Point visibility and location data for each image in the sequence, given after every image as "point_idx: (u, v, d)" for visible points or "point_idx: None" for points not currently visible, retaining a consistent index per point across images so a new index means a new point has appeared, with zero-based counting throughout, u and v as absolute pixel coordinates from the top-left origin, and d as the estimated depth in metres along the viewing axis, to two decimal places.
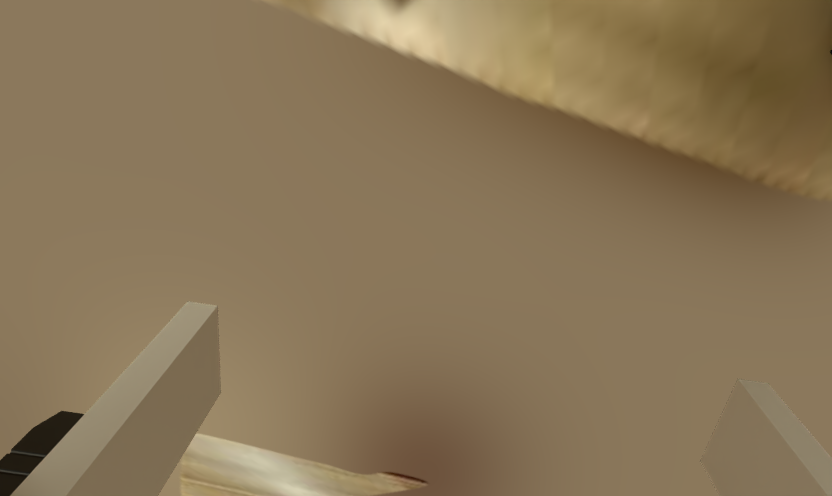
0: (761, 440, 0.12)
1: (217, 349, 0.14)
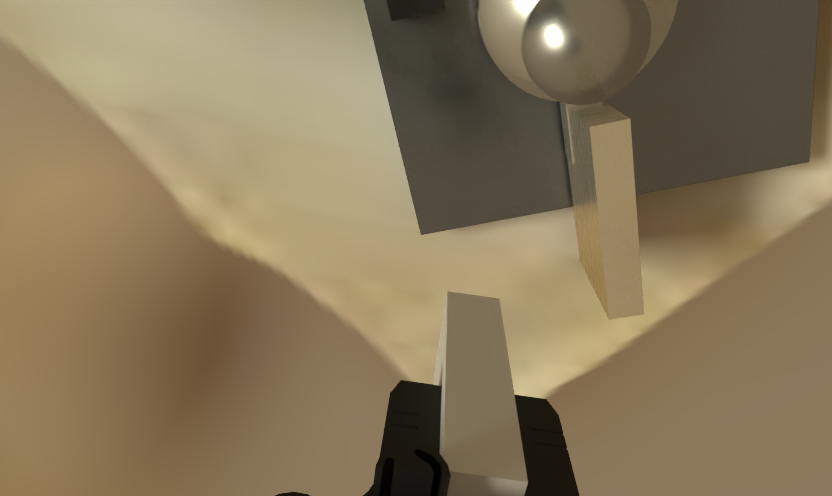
0: None
1: None
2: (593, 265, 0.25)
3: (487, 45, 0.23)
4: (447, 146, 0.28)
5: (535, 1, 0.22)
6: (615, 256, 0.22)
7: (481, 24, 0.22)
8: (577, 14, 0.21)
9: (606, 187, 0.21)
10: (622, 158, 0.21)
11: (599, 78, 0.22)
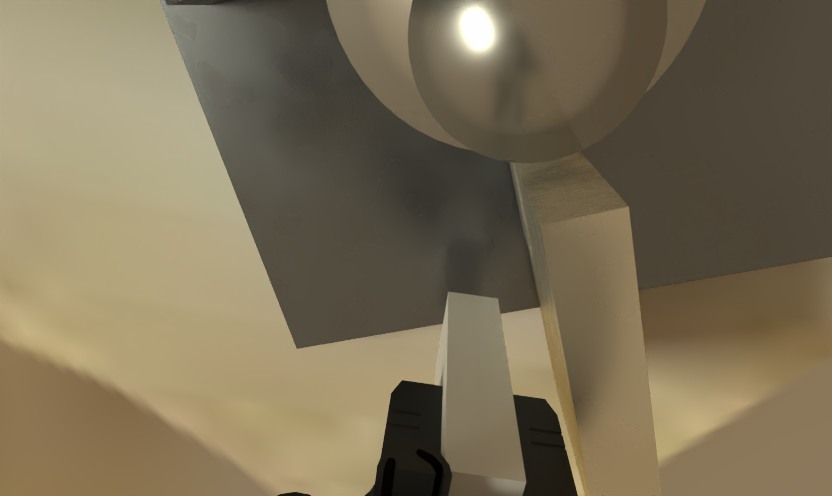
0: None
1: None
2: (572, 436, 0.14)
3: (347, 52, 0.12)
4: (323, 216, 0.17)
5: None
6: (608, 459, 0.11)
7: (331, 12, 0.11)
8: None
9: (584, 340, 0.10)
10: (614, 286, 0.10)
11: (565, 111, 0.11)
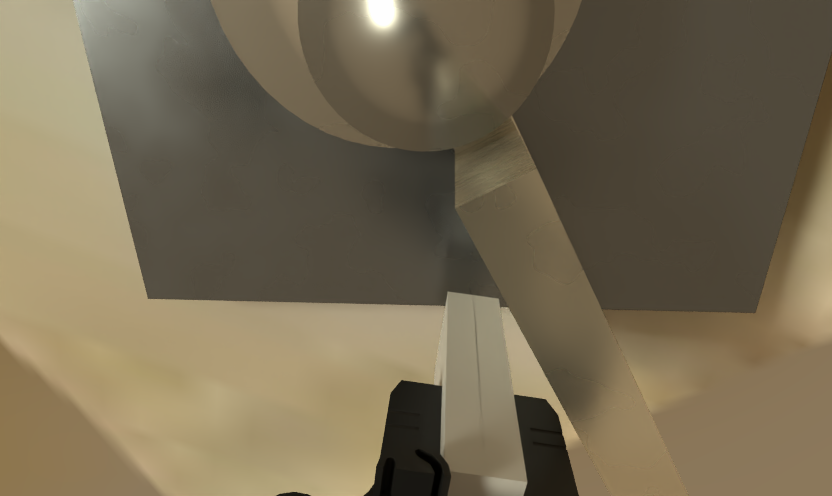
0: None
1: None
2: None
3: (262, 83, 0.12)
4: (193, 170, 0.16)
5: None
6: (602, 427, 0.11)
7: (236, 50, 0.12)
8: None
9: (536, 313, 0.10)
10: (549, 251, 0.09)
11: (475, 88, 0.11)
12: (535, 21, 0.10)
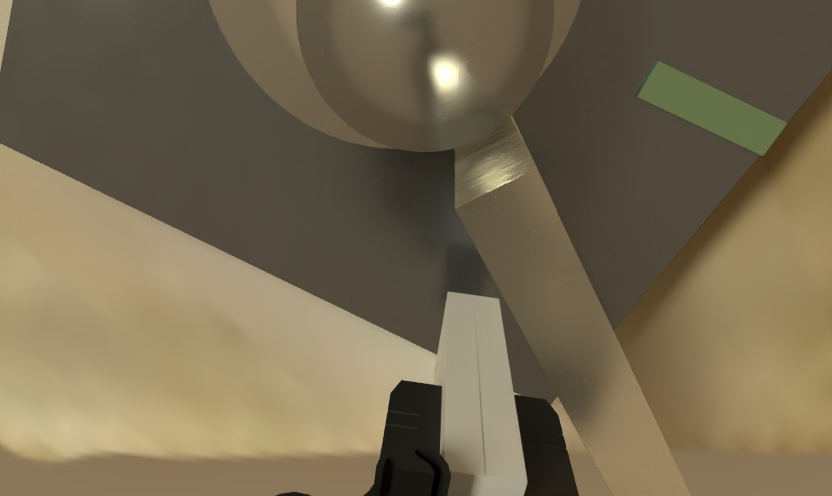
0: None
1: None
2: None
3: (261, 85, 0.12)
4: (102, 36, 0.15)
5: None
6: (604, 429, 0.11)
7: (234, 51, 0.12)
8: None
9: (537, 313, 0.10)
10: (550, 252, 0.09)
11: (475, 88, 0.11)
12: (534, 20, 0.10)
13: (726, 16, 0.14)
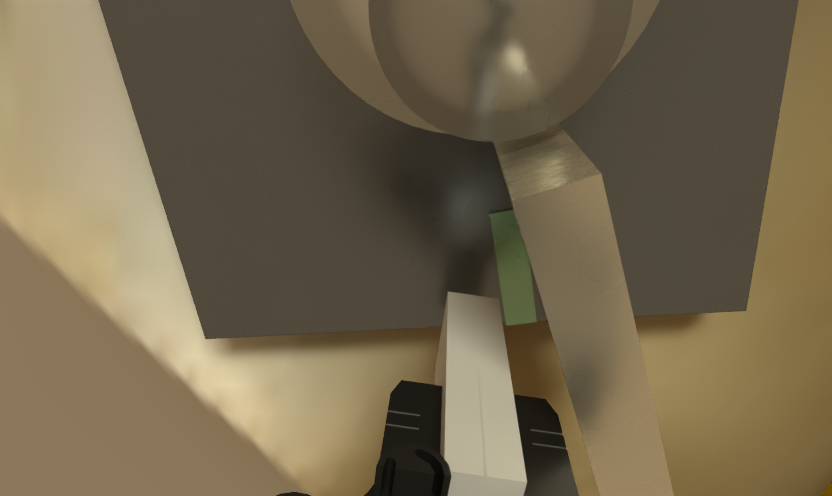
0: None
1: None
2: None
3: (314, 45, 0.12)
4: None
5: None
6: (610, 439, 0.11)
7: (293, 5, 0.11)
8: None
9: (570, 317, 0.10)
10: (596, 258, 0.09)
11: (537, 84, 0.11)
12: (609, 27, 0.10)
13: None
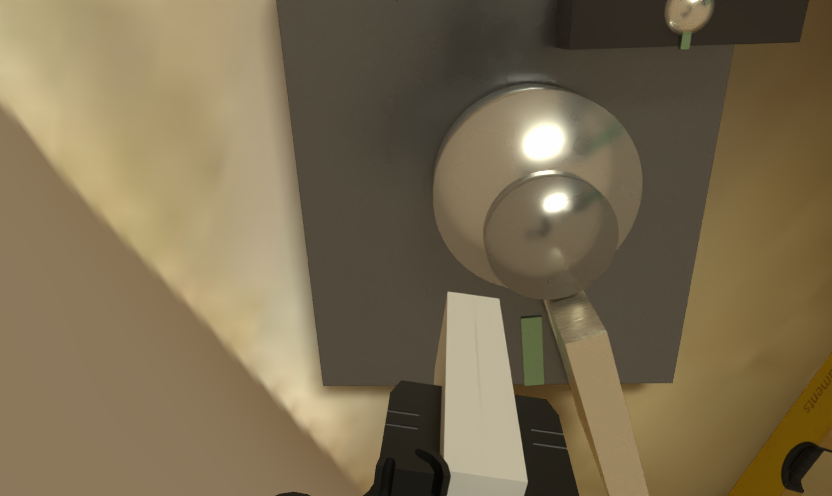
0: None
1: None
2: (591, 446, 0.23)
3: (448, 246, 0.22)
4: (393, 19, 0.21)
5: (492, 202, 0.21)
6: (612, 457, 0.21)
7: (439, 228, 0.21)
8: (536, 217, 0.20)
9: (592, 396, 0.20)
10: (604, 369, 0.19)
11: (570, 273, 0.21)
12: (607, 248, 0.20)
13: None
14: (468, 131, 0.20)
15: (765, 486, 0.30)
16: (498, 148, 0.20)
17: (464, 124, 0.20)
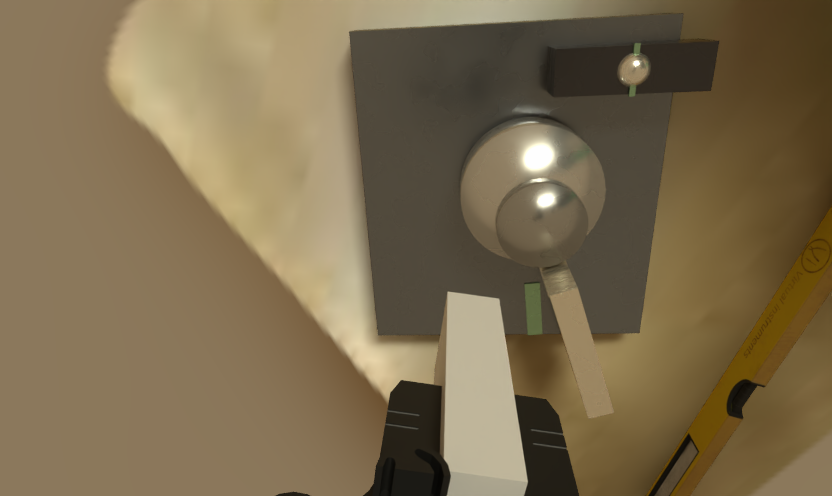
0: None
1: None
2: None
3: (471, 231, 0.31)
4: (432, 73, 0.30)
5: (501, 200, 0.30)
6: (584, 376, 0.30)
7: (464, 218, 0.31)
8: (531, 211, 0.29)
9: (569, 332, 0.29)
10: (577, 313, 0.29)
11: (555, 249, 0.30)
12: (580, 231, 0.29)
13: None
14: (485, 152, 0.29)
15: (715, 415, 0.39)
16: (505, 163, 0.29)
17: (482, 148, 0.29)
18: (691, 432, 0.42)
